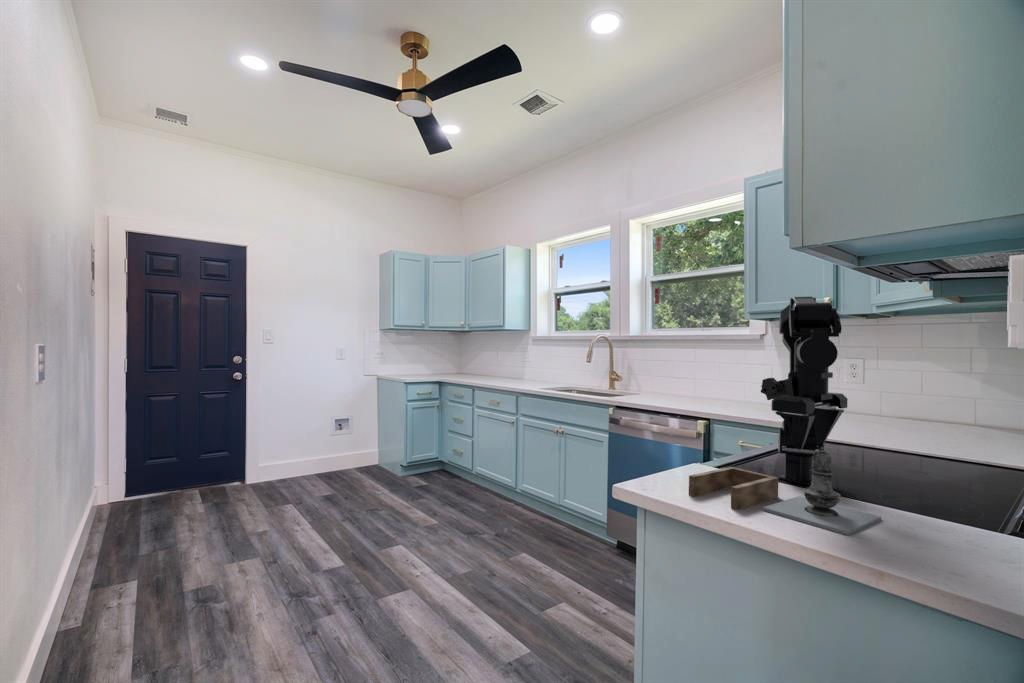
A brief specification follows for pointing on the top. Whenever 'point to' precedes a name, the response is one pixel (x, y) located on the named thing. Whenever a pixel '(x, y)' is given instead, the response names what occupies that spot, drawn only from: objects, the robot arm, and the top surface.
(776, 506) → the slate mat
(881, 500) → the top surface
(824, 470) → the grey tall turned piece
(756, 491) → the brown wooden u-shaped frame
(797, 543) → the top surface
